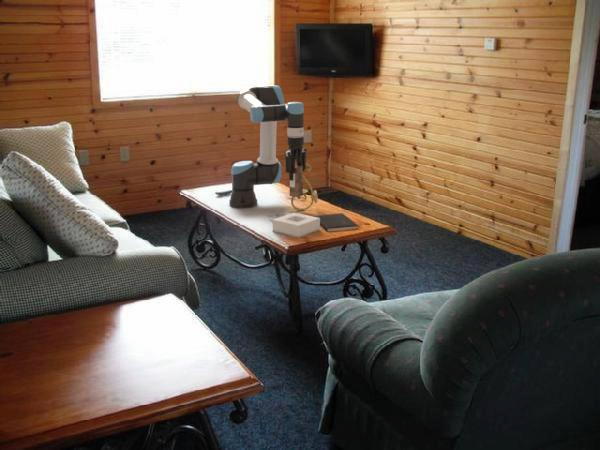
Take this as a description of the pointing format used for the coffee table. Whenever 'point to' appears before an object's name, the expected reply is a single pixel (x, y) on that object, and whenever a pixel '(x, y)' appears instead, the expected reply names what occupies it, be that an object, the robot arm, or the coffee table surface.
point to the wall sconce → (314, 195)
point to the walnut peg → (297, 182)
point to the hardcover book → (336, 222)
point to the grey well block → (296, 225)
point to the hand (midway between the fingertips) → (296, 185)
